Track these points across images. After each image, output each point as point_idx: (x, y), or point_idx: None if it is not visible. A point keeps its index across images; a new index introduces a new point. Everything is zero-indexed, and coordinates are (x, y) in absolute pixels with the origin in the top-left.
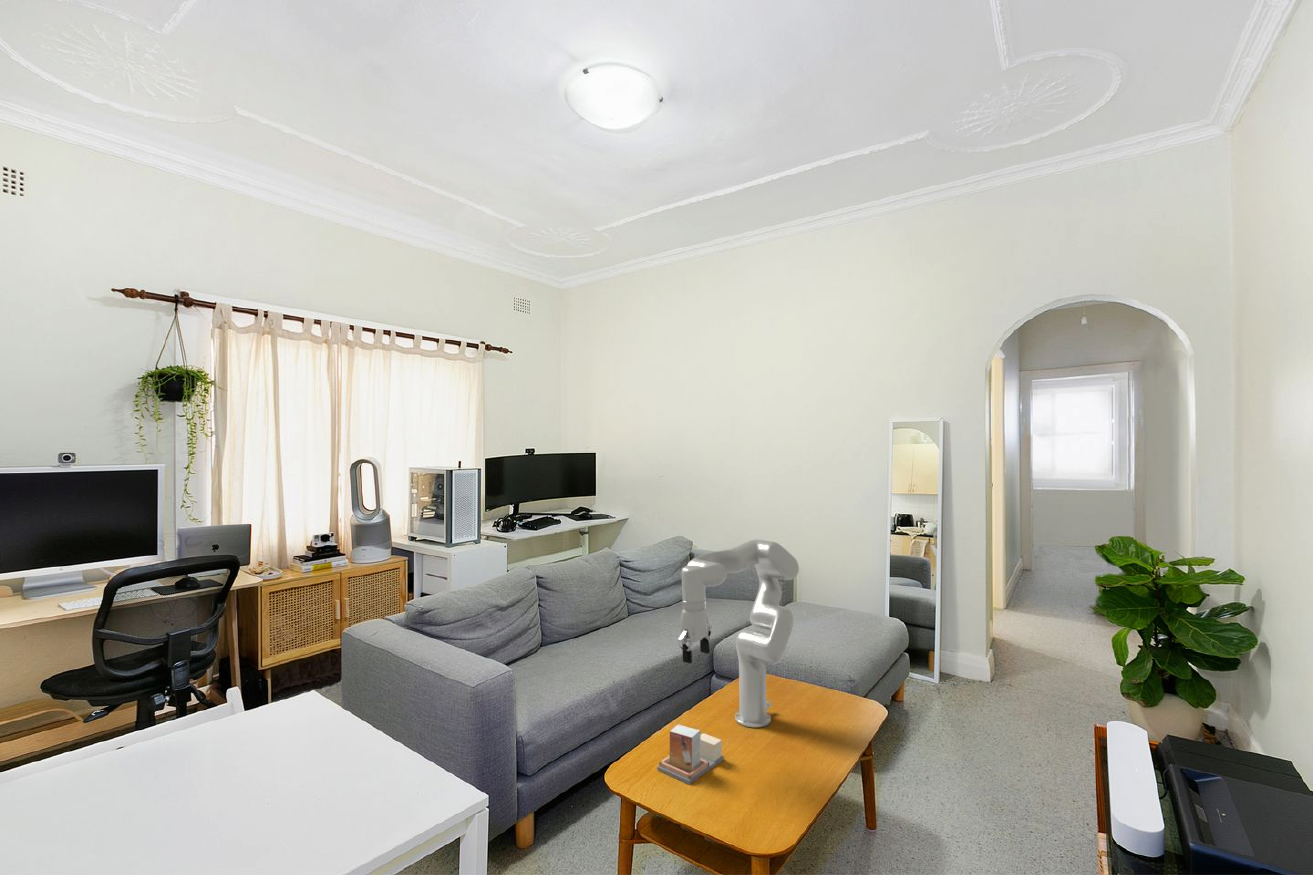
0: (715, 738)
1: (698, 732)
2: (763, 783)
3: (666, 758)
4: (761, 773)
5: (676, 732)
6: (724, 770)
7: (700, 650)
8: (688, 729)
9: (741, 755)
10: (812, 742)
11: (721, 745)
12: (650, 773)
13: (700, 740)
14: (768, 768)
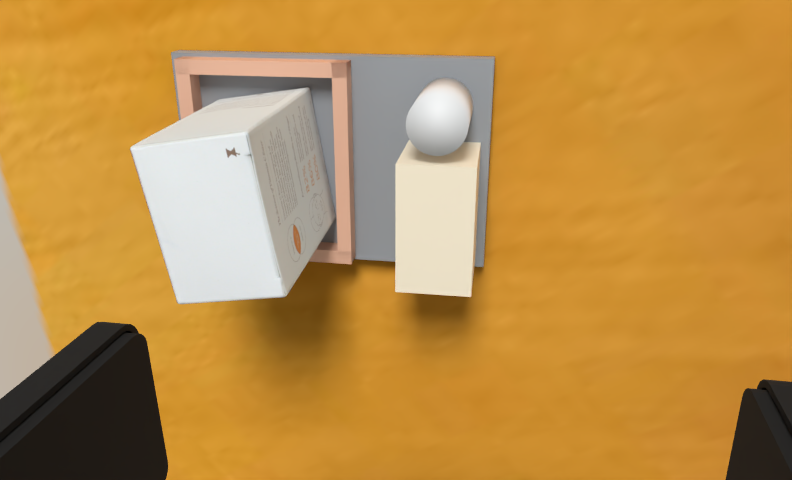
0: (464, 261)
1: (258, 298)
2: (417, 467)
3: (227, 66)
4: (480, 437)
5: (150, 194)
6: (398, 308)
7: (755, 397)
8: (235, 234)
9: (571, 310)
10: None
11: (472, 282)
12: (134, 42)
13: (395, 197)
14: (537, 445)
